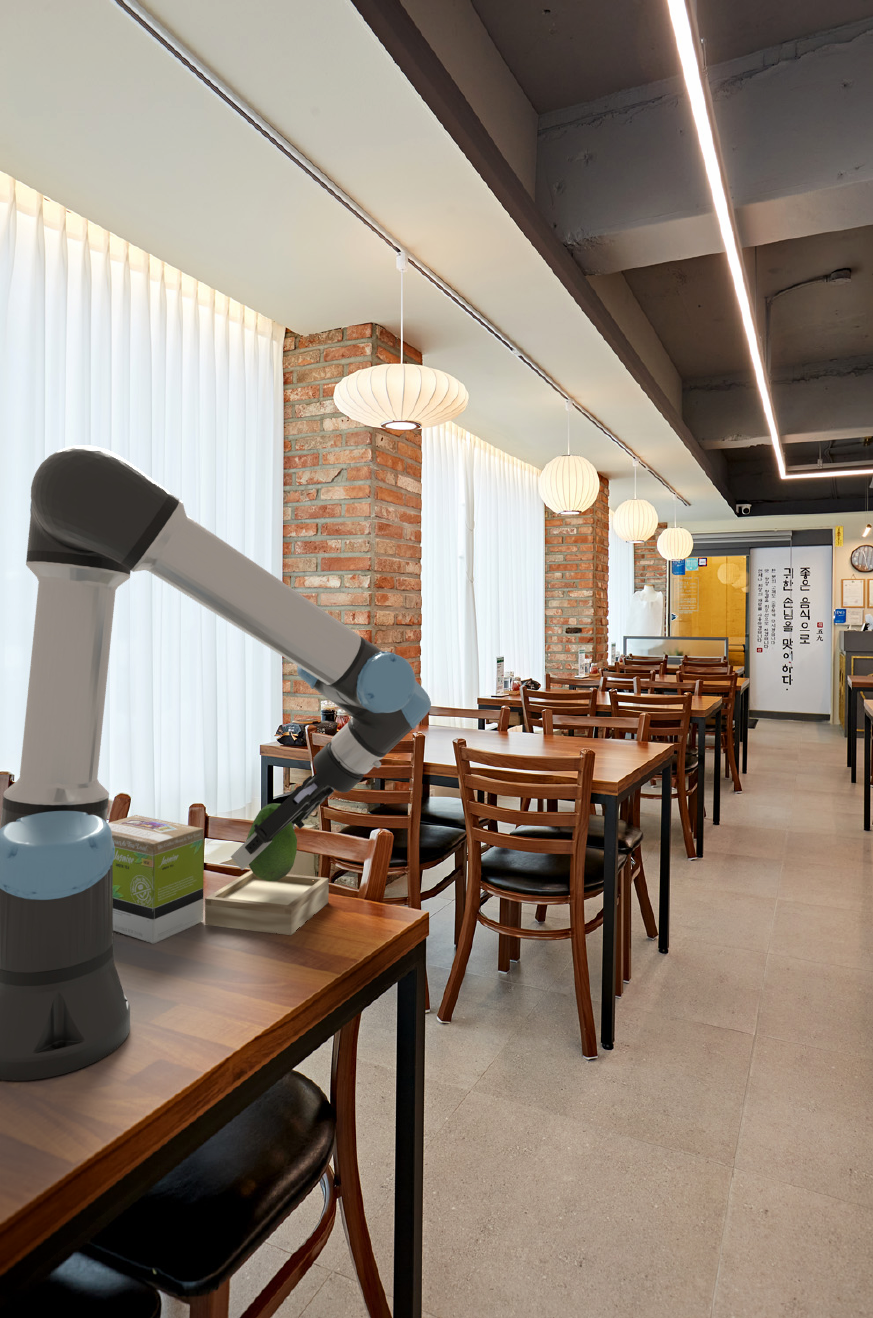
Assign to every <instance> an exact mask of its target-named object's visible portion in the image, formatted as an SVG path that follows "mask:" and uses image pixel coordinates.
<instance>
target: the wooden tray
mask: <svg viewBox="0 0 873 1318" xmlns="http://www.w3.org/2000/svg"><path fill="white" fill-rule="evenodd" d="M312 880H314V881H312ZM329 883H330V882H329V878H328V877H322V876H321V877H319V876H312V875H311V876H310V875H300V874H292V873H288V874H287V875H286V876H284V877H283V878H281V879H279V880H277V881H269V882H268V881H266V880H263V879H261V878H259V877H257V876H256V875H255V874H254V873H253V872H252V870H251V869H250V870H249V871H247V872H245V873H244V874H242V875H241V876H239V877H238V878H236V879H234V880H233V881H231V882H230V883H228V884H226V885H225V886H223V887H221V888H219V889H218V890H216V891H215V892H213V893H211V894H210V895H208V896H207V897H205V898H204V925H206V926H210V927H211V926H212V927H220V928H221V927H222V928H229V929H236V930H246V931H252V932H253V931H254V932H263V933H268V934H269V933H271V934H276V933H277V934H278V935H279V934H280V935H287V936H292V935H293V934H295V932H297V931H298V930H299V929H300V928H301V927H302V926H303V925H305V924H306V923H307V922H308V921H309V920H310V919H312V918H313V917H314V916H315V915H316V914H317V913H318V912H319V911H321V909H323V908H324V907H325V906H326V905H328V903H329ZM314 914H315V915H314ZM313 915H314V916H313ZM307 920H308V921H307ZM306 921H307V922H306ZM305 922H306V923H305ZM299 927H300V928H299ZM298 928H299V929H298ZM297 929H298V930H297ZM296 930H297V931H296Z"/></svg>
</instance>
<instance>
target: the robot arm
mask: <svg viewBox="0 0 873 1318" xmlns="http://www.w3.org/2000/svg"><path fill="white" fill-rule="evenodd" d="M30 500H31V501H30V507H29V508H30V509H29V510H30V518H29V528H28V529H29V530H28V537H27V538H28V539H27V550H26V562H25V565H26V567H27V568H28V569H29V570H30V571H31V572H32V574H33V575H34V576H35V577H36V578H37V581H38V585H37V595H36V605H35V606H36V607H35V617H34V625H33V626H34V627H33V636H32V646H31V658H30V666H29V677H28V686H27V688H28V689H27V699H26V706H25V707H26V708H25V709H26V710H25V719H24V729H23V739H22V747H21V748H22V749H21V760H20V770H19V778H17V780H16V781H15V782H14V783H13V784H11V785H10V786H9V787H8V788H7V789H6V790H4V791H3V795H2V797H3V798H2V806H1V815H0V1080H2V1081H34V1080H40V1079H41V1080H42V1079H48V1078H52V1077H56V1076H60V1075H64V1074H67V1073H71V1072H74V1071H77V1070H79V1069H83V1068H85V1067H87V1066H89V1065H91V1064H95V1063H96V1062H99V1060H101V1059H103V1058H105V1057H106V1056H109V1054H111V1053H112V1052H114V1051H115V1050H117V1048H118V1047H120V1046H121V1045H122V1044H123V1042H124V1041H125V1040H126V1039H127V1037H128V1036H129V1034H130V1031H131V1030H130V1029H131V1006H130V1003H129V1000H128V998H127V996H126V995H125V993H124V990H123V989H124V988H123V986H122V983H121V979H120V976H119V974H118V971H117V967H116V965H115V961H114V931H113V859H114V856H115V847H114V842H113V840H112V831H111V828H110V827H109V825H108V823H109V822H108V821H107V818H108V809H109V808H108V807H109V800H110V799H109V797H110V793H109V791H108V790H107V789H106V788H105V787H104V786H103V785H102V784H101V783H100V782H99V781H100V780H99V779H98V777H99V775H98V774H99V764H100V756H101V745H102V734H103V725H104V724H103V723H104V713H105V702H106V695H107V691H106V690H107V685H108V684H107V683H108V673H109V670H108V669H109V662H110V661H109V660H110V653H111V652H110V651H111V642H112V631H113V620H114V609H115V599H116V591H117V589H118V588H119V587H120V586H121V585H123V584H124V583H125V582H127V581H128V580H129V579H131V572H132V573H133V572H134V573H135V572H141V571H146V572H147V571H148V572H149V573H151V574H152V575H154V576H155V577H158V579H160V580H162V581H164V582H165V583H166V584H168V585H170V586H171V587H173V588H174V589H176V590H177V591H179V592H181V593H182V594H184V595H186V596H187V597H189V598H190V599H192V600H194V601H195V602H197V603H198V604H200V605H202V607H205V608H206V609H208V611H211V612H213V613H214V614H215V615H217V616H218V617H220V618H221V619H223V620H225V621H226V622H227V623H230V624H231V625H233V626H234V627H235V628H237V629H239V630H241V631H242V632H243V633H245V634H246V635H249V636H250V637H251V638H254V639H255V640H256V641H258V642H259V643H261V644H263V645H264V646H265V647H268V648H269V649H270V650H272V651H273V652H275V653H277V654H278V655H280V656H282V657H283V658H284V659H286V660H288V661H289V662H291V663H292V664H294V665H296V666H297V667H296V668H297V669H296V673H297V675H298V677H299V678H300V679H301V680H302V681H304V683H306V684H307V685H309V687H310V689H312V690H314V691H316V692H318V693H319V694H321V695H322V697H325V698H326V699H328V700H329V701H331V703H333V704H335V706H338V708H340V709H341V710H343V711H344V712H346V713H347V714H348V715H349V716H350V717H351V719H350V720H348V721H347V723H345V725H344V726H343V727H342V728H341V729H339V730H338V732H336V734H335V735H333V737H332V738H331V741H330V742H327V743H326V744H325V745H324V746H323V747H322V748H321V750H319V751H318V752H317V753H316V755H315V756H314V757H313V767H314V769H315V771H316V772H315V774H313V776H312V775H309V776H308V777H306V779H305V780H303V781H302V783H301V785H299V786H297V787H296V788H295V790H294V791H293V792H292V793H291V794H290V795H289V796H288V797H287V798H286V799H284V801H283V802H282V803H280V804H281V805H280V806H279V807H278V808H277V809H276V810H275V811H273V812H272V813H271V814H270V815H269V816H268V817H267V818H266V819H265V820H264V821H263V822H262V823H261V824H260V825H258V824H255V825H254V828H255V829H254V832H255V833H254V834H253V835H252V836H251V837H250V838H249V839H248V840H247V839H246V840H247V841H246V840H245V841H244V843H242V844H241V846H240V847H239V848H238V849H237V850H236V851H235V852H234V853H233V854H232V855H231V856H230V858H231V859H232V860H233V862H234V863H235V864H236V866H238V867H239V869H240V870H241V871H243V870H245V869H246V868H248V866H249V864H250V863H251V862H252V861H253V860H254V859H255V858H256V857H257V856H258V855H259V854H260V853H261V852H262V851H263V850H264V849H265V848H266V847H267V846H268V845H269V844H270V843H271V842H272V839H273V838H274V837H275V836H276V835H277V834H278V833H279V832H280V831H282V830H283V829H284V828H285V827H286V826H287V825H288V824H289V823H290V822H291V823H292V826H293V829H294V830H295V829H296V828H298V829H299V830H300V829H302V828H304V827H305V823H304V822H303V821H305V820H308V818H309V817H310V815H312V813H314V812H315V810H317V808H318V807H319V806H320V805H322V804H323V803H324V801H325V800H326V799H328V798H329V797H330V796H332V795H333V793H334V792H335V791H337V792H339V793H345V794H346V793H349V792H350V791H352V790H353V789H354V788H355V786H356V785H358V784H359V782H361V781H362V779H363V778H364V777H365V775H366V774H368V773H369V772H370V771H371V770H372V769H373V768H377V769H380V767H381V765H382V762H381V761H380V760H382V759H383V758H384V757H385V756H386V755H387V754H389V752H391V750H392V749H394V747H396V745H398V744H399V743H400V742H401V741H402V740H403V739H404V738H405V737H406V736H407V735H408V734H409V733H410V732H412V730H414V729H416V727H417V726H418V725H419V723H421V721H422V720H423V719H424V718H425V717H426V716H427V714H428V713H429V712H430V710H431V708H432V702H431V698H430V696H429V694H428V693H427V692H426V690H425V689H424V688H423V687H422V686H421V685H420V684H419V682H418V681H417V680H416V674H415V671H414V668H413V666H412V665H411V663H409V661H408V660H407V659H406V658H404V657H403V656H400V655H399V654H396V653H394V652H391V651H383V650H382V649H381V648H379V647H377V646H376V645H374V644H373V643H372V642H371V641H368V639H365V638H364V637H362V636H361V635H359V633H357V632H355V630H353V629H351V628H350V627H348V626H347V625H346V624H344V623H342V622H341V621H340V620H338V619H336V617H334V616H332V615H331V614H330V613H329V612H327V611H325V610H324V609H322V608H321V607H319V606H318V605H317V604H315V603H314V602H312V601H311V600H309V599H308V598H306V597H305V596H303V595H302V594H301V593H300V592H298V591H296V590H295V589H293V588H292V587H290V586H289V585H287V584H286V583H285V582H283V581H282V580H281V579H279V578H278V577H276V576H274V575H273V574H272V573H270V572H269V571H267V570H266V569H264V568H263V567H262V566H261V565H259V564H258V563H256V562H254V561H253V560H252V559H250V558H249V557H247V556H246V555H244V554H243V553H242V552H240V551H239V550H238V549H236V548H234V547H233V546H231V545H230V544H229V543H227V542H226V541H224V540H223V539H221V538H220V537H218V536H217V535H215V534H214V533H213V532H211V531H210V530H209V529H207V528H206V527H204V526H203V525H201V524H199V522H197V521H195V519H192V518H191V517H190V516H188V515H187V513H186V511H185V506H184V502H183V501H182V500H181V499H180V498H178V497H177V496H175V495H174V494H172V493H171V492H169V491H168V490H167V489H165V488H164V487H163V486H161V484H159V483H158V482H156V481H155V480H153V479H152V478H151V477H150V476H148V475H147V474H145V473H144V472H143V471H142V470H140V469H139V468H137V467H136V466H134V464H132V463H130V462H129V461H127V460H126V459H124V458H123V457H121V456H120V455H118V454H116V453H114V452H113V451H110V450H108V449H105V448H103V447H102V448H101V447H98V446H92V445H73V446H68V447H65V448H62V449H59V450H57V451H56V452H54V453H52V454H50V455H49V456H48V457H46V459H45V460H43V462H41V464H40V465H39V467H38V468H37V470H36V472H35V474H34V476H33V479H32V482H31V487H30Z"/></svg>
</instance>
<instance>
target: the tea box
mask: <svg viewBox="0 0 873 1318" xmlns="http://www.w3.org/2000/svg"><path fill="white" fill-rule="evenodd" d="M107 823H108V825H109V827H110V828H111V831H112V840H113V842H114V847H115V856H114V859H113V932H117V933H120V934H123V935H126V936H128V937H133V938H135V939H138V940H141V941H144V942H147V943H149V944H151V945H154V944H156V943H158V942H161V941H164V940H166V939H168V938H170V937H172V936H174V935H177V934H179V933H181V932H184V931H186V930H187V929H189V928H192V927H193V926H196V925H197V924H199V923H200V924H201V923H202V922H203V921H204V863H205V862H204V857H205V856H204V849H205V847H204V838H205V837H204V833H205V832H204V829H205V828H203V827H198V826H197V827H196V826H193V825H188V824H182V823H177V822H173V821H167V820H162V819H158V818H152V817H147V816H142V815H138V814H135V815H131V816H128V817H125V818H120V819H118V820H117V819H116V820H114V821H110V822H107Z"/></svg>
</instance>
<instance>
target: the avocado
mask: <svg viewBox="0 0 873 1318" xmlns="http://www.w3.org/2000/svg"><path fill="white" fill-rule="evenodd" d="M281 804H282V803H268V804H266V805H264V806H263V807H262V808H261V809H260V810H259V812H258V814H257V815H256V816H255V818H254V820H253V823H252V825H251V827H250V829H249V832H248V835H247V837H246V839H245V842H246V841H247V840H248V839H249V838H250V837H251V836H252V835H253V834H254V833H255V832H254V829H255V828H254V825H255V824H258V825H260V824H261V823H262V822H263V821H264V820H265V819H266V818H267V817H268V816H269V815H270V814H271V813H272V812H273V811H275V810H276V809H277V808H278V807H279V806H280V805H281ZM297 847H298V838H297V834H296V833H295V829H293V826H292V823H291V822H290V823H289V824H288V825H287V826H286V827H285V828H284V829H283V830H282V831H280V832H279V833H278V834H277V835H276V836H275V837H274V838H273V839H272V842H271V843H270V844H269V845H268V846H267V847H266V848H265V849H264V850H263V851H262V852H261V853H260V854H259V855H258V856H257V857H256V858H255V859H254V860H253V861H252V862H251V863H250V864H249V865H248V866H249V869H250V870H252V872H253V873H254V874H255V875H256V876H257V877H259V878H261V879H263V880H266V881H268V882H269V881H277V880H279V879H281V878H283V877H284V876H286V875H287V874H290V872H291V870H292V869H293V867H294V864H295V861H296V856H297V852H298V849H297Z"/></svg>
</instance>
